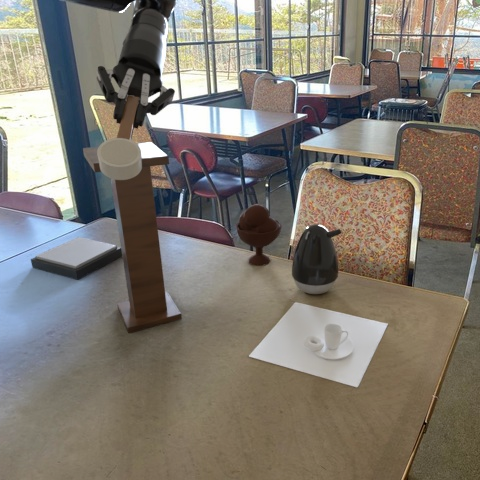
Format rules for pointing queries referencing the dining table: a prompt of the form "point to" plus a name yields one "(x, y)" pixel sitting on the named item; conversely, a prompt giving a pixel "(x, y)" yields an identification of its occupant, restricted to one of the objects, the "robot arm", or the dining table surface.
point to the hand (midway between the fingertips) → (127, 122)
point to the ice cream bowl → (258, 231)
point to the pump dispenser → (315, 260)
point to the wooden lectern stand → (140, 243)
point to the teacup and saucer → (322, 343)
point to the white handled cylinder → (122, 147)
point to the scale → (76, 257)
